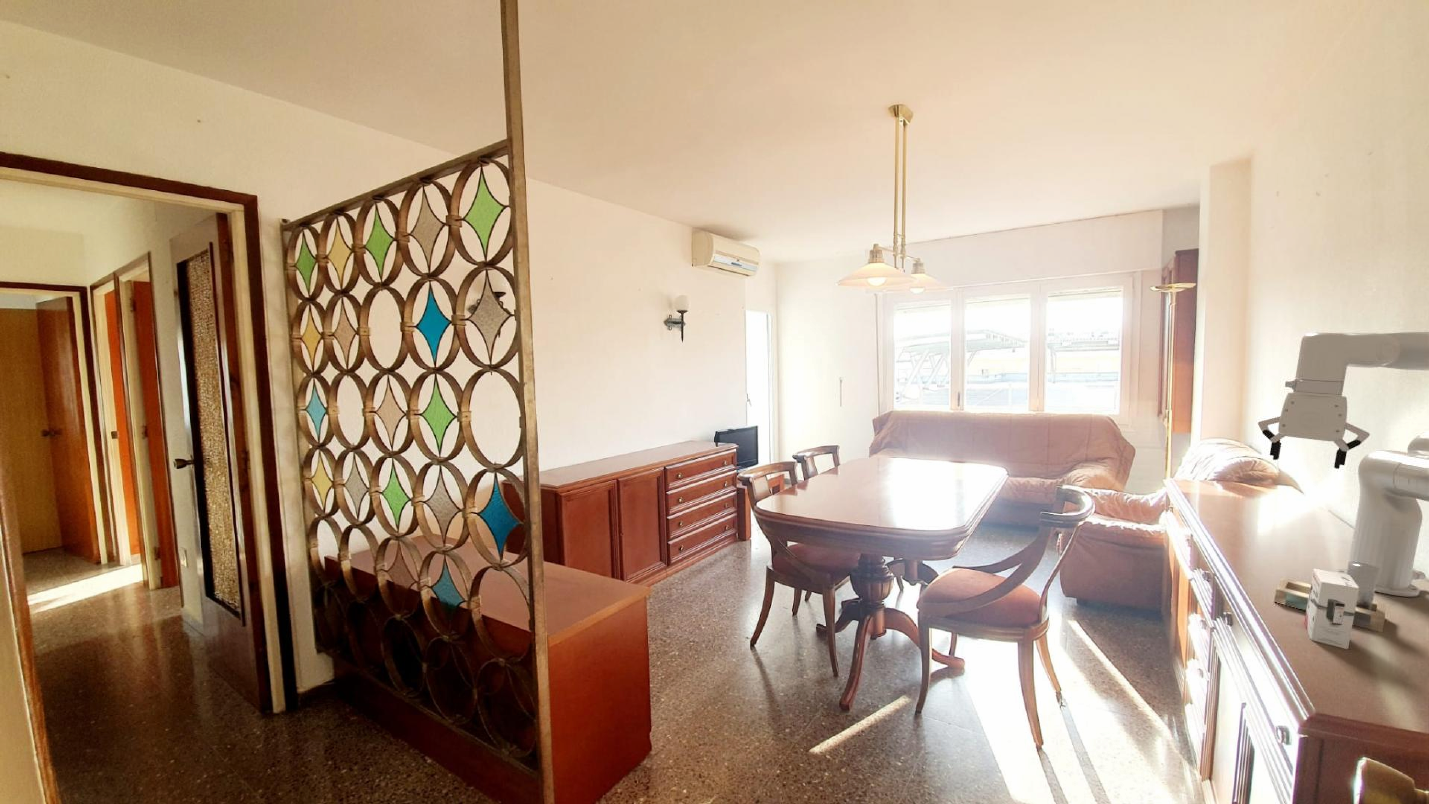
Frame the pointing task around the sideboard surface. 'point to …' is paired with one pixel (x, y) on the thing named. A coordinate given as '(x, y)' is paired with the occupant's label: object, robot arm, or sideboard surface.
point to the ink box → (1331, 607)
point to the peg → (1364, 582)
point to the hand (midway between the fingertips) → (1305, 463)
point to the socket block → (1299, 595)
